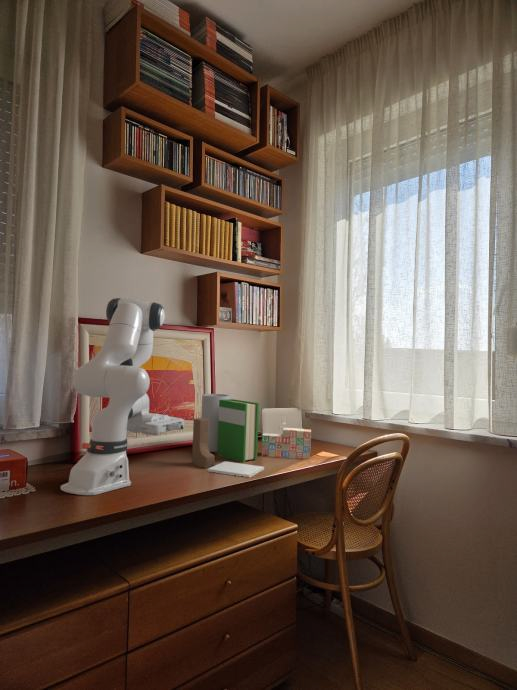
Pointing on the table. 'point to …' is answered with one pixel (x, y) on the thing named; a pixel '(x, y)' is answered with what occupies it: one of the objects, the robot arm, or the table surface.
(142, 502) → the table surface
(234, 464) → the white flat panel
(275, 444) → the stack of blocks
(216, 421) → the cylinder vase
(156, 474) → the table surface
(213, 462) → the wooden block
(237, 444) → the hardback book
